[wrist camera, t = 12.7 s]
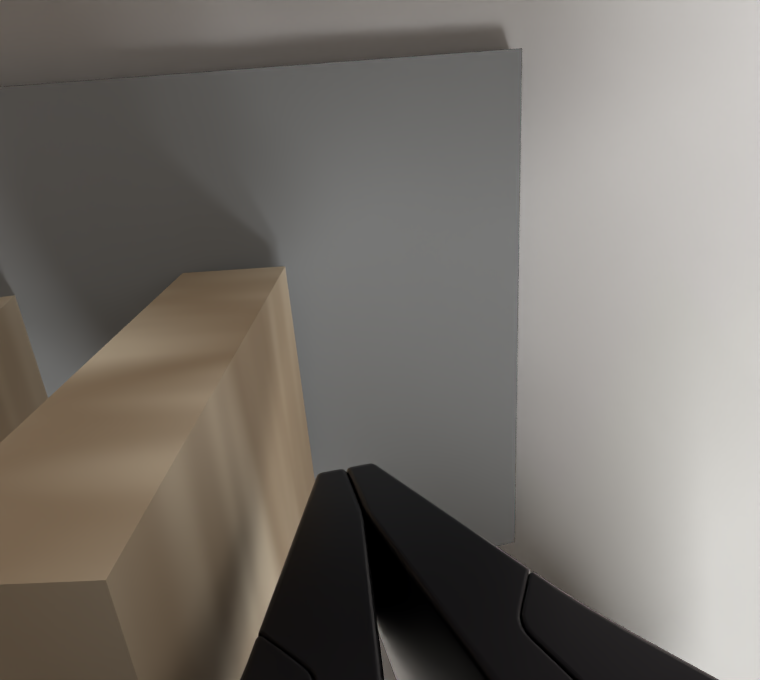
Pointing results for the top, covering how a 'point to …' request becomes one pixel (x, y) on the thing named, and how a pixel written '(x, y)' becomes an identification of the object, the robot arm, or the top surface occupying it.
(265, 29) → the top surface
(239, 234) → the mat
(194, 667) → the domino
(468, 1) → the top surface
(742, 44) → the top surface
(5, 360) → the domino
